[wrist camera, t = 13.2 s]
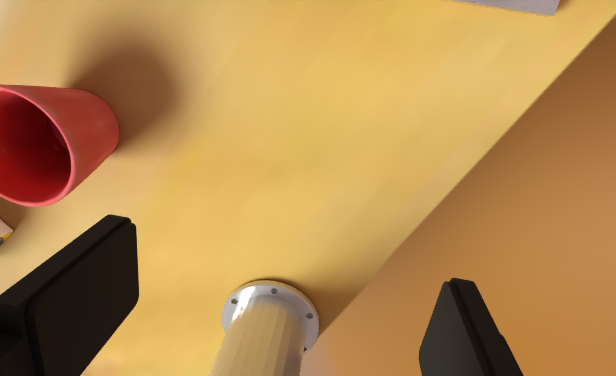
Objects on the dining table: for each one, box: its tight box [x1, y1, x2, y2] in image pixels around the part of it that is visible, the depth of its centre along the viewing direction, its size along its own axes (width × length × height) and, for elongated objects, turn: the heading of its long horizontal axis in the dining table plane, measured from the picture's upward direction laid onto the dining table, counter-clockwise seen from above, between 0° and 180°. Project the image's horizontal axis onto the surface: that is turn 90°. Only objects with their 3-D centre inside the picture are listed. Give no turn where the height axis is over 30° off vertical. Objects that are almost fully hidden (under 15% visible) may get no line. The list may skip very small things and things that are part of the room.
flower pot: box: [0, 85, 120, 207], centre depth 36 cm, size 11×11×10 cm
